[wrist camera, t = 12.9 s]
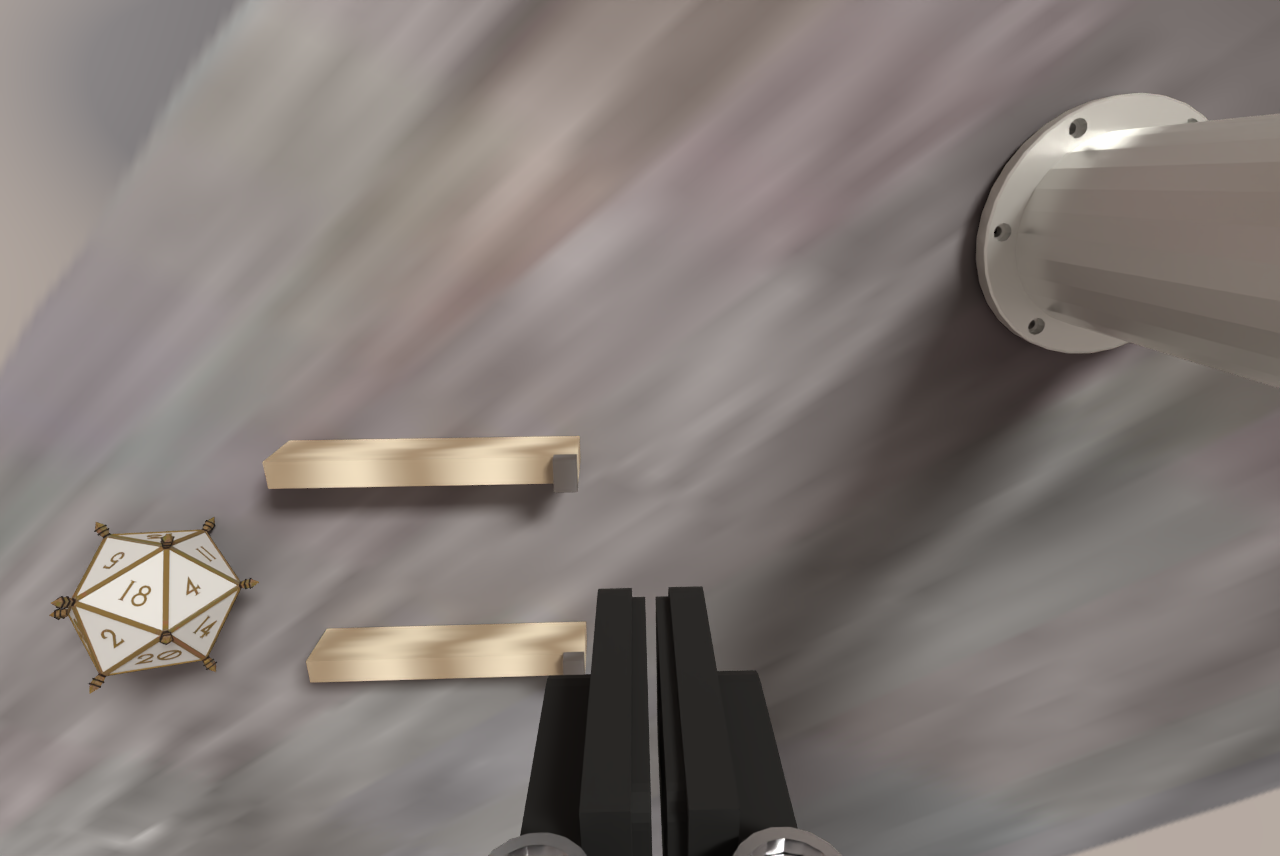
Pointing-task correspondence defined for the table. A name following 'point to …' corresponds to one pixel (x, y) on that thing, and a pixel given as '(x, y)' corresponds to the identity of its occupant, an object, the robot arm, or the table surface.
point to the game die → (152, 600)
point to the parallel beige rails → (449, 645)
